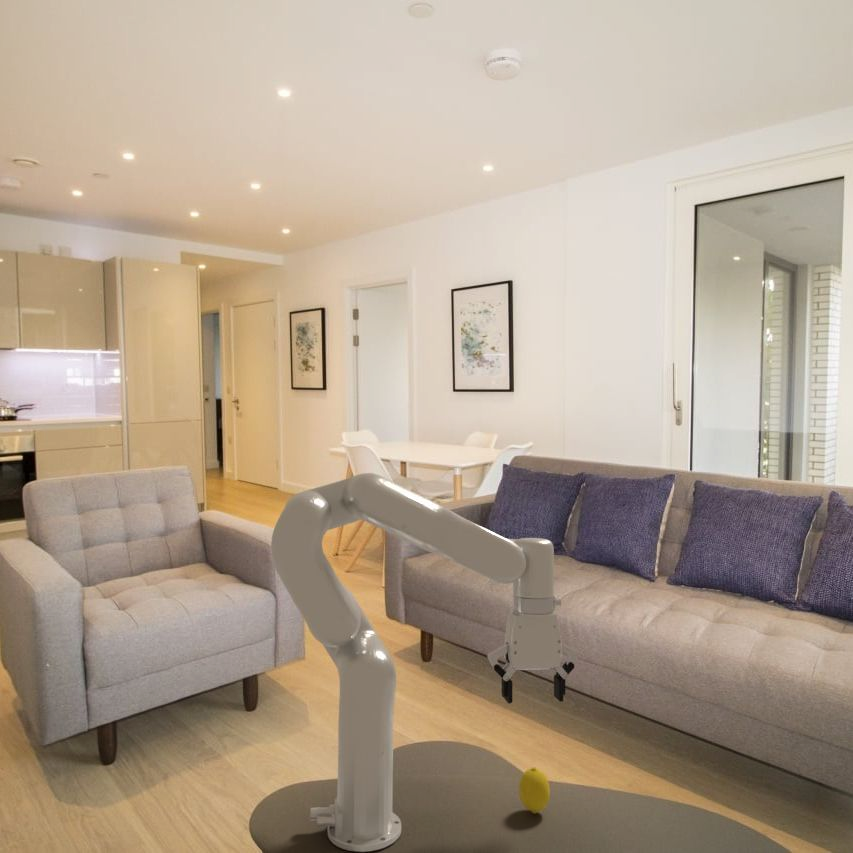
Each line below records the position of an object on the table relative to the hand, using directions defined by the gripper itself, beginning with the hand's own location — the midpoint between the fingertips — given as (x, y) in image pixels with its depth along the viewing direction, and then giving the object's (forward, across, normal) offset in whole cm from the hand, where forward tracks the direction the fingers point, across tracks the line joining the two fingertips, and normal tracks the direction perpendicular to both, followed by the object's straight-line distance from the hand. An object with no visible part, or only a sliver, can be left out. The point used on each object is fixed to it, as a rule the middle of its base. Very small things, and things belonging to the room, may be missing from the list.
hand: (533, 700), depth 118 cm
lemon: (+20, 0, 0) cm, 20 cm away
